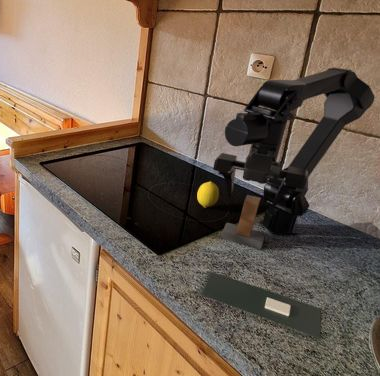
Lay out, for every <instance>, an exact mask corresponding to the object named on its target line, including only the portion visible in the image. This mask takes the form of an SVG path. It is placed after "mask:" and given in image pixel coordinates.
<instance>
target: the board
mask: <svg viewBox="0 0 380 376" xmlns="http://www.w3.org/2000/svg"><path fill="white" fill-rule="evenodd" d="M200 295H201V296H203V297H205V298H208V299H211V300H214V301H216V302H219V303H222V304H224V305H227V306H230V307H233V308H236V309H239V310H241V311H242V312H243V311H244V312H246V313H249V314H251V315H255V316H257V317H260V318H263V319H265V320H268V321H271V322H274V323H276V324H279V325H282V326H284V327H287V328H290V329H293V330H295V331H298V332H300V333H304V334H305V335H309V336H312V337H314V338H317V339H321V321H322V319H321V318H322V308H321V307H317V306H315V305H312V304H309V303H305V302H302V301H299V300H297V299H294V298H292V297H291V298H290V297H288V296H285V295H282V294H279V293H275V292H273V291H271V290H267V289H264V288H261V287H258V286H254V285H252V284H249V283H246V282H244V281H240V280H238V279H234V278H231V277H228V276H225V275H222V274H220V273H217V272H214V271H211V272H210V274H209V276H208V278H207V281H206V283H205V285H204V287H203V290H202V291H201V294H200ZM267 297H268V298H271V299H274V300H277V301H280V302H283V303H285V304H288V305H291V307H290V314H289V316H286V315H283V314H281V313H278V312H275V311H272V310H269V309H267V308H265V305H266V300H267Z"/></svg>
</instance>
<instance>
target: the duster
mask: <svg viewBox="0 0 380 376" xmlns="http://www.w3.org/2000/svg"><path fill="white" fill-rule="evenodd" d="M261 199H262V198H261V197H258V196H255V195H252V194H251V195H250V194H247V195H246V197H245V199H244V202H243V206H242V209H241V212H240V213H241V214H240V217H239V221H238V225H237V224H234V223H231V222H226V223H225V225H224V227H223V229H222V231H221V236H220V238H221V239H224V240H227V241H231V242H234V243H238V244H241V245H245V246H248V247H251V248H255V249H259V250H262V247H263V244H264V240H265V238H266V232H263V231H259V230H256V229H253V228H254V225H255V221H256V217H257V214H258V209H259V206H260V203H261Z"/></svg>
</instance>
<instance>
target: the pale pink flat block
mask: <svg viewBox="0 0 380 376" xmlns="http://www.w3.org/2000/svg"><path fill="white" fill-rule="evenodd" d="M290 307H291V305H288V304H285V303H283V302H280V301H277V300H274V299H271V298H268V297H267V300H266V305H265V308H267V309H269V310H272V311H275V312H278V313H281V314H283V315H286V316H289V314H290Z"/></svg>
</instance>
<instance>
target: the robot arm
mask: <svg viewBox="0 0 380 376" xmlns="http://www.w3.org/2000/svg"><path fill="white" fill-rule="evenodd" d="M321 95H324V96H325V98H326V99H325V101H324V102H323V116H322V118H321V119H320V120H319V122H318V124H317V125H316V126H315V128H314V129H313V131H312V132H311V134H310V135H309V136H308V138H307V139H306V140H305V142H304V143H303V145H302V146H301V147H300V149H299V151H298V152H297V154H296V155H295V156H294V157H293V159H292V161H291V162H290V164H289V165H288V166H287V167H285V168H283V162H279V161H278V157H279V153H280V149H281V147H282V146H281V145H282V143H283V138H284V135H285V132H286V127H287V124H288V121H293V120H295V119H296V118H295V117H296V116H295V115H294V114H293V113H292V112H293V111H295V110H297V109H299V108H300V107H302V105H303V103H304V101H306V100H308V99H312V98H316V97H319V96H321ZM374 102H375V94H374V93H373V90H372V88H371V86H370V85H369V84H368V83H366V82H364V81H363V80H362V79H360V78H359V77H358V76H357V74H356V72H355V71H353V70H352V69H348V68H340V67H330V68H328V69H326V70H325V71H320V72H316V73H314V74H310V75H306V76H304V77H300V78H296V79H268V80H266V81H265V82H262V85H261V86H260V87H259V88H258V90H257V91H256V93H255V94H254V95H253V97H252V98H251V99H250V100H249V102H248V103H247V105H246V106H245V108H244V109H243V112H237V114H236V115H235V118H234V119H231V120H230V121H229V122H228V123H227V125H226V126H225V128H224V137H225V140H226V142H227V143H228V144H229V145H230V146H232V147H242V146H248V145H250V147H249V152H248V154H247V156H246V158H245V161H241V160H237V159H238V155H234V154H230V153H224V152H222V153H220V154H218V156H216V158H215V160H214V162H213V167H212V170H214V171H216V172H217V173H218V175H221V176H222V177H223V178H224V181H225V185H226V190H227V191H226V192H227V198H228V199H229V200H231V199H232V197H233V196H232V195H233V193H234V186H235V177H236V170H239V171H243V173H242V179H243V180H245V181H248V182H249V181H251V182H256V183H258V184H261V185H264V186H263V202H264V203H266V204H268V207H267V209H266V210H265V212H264V215H263V219H262V220H259V224H261V225H262V226H263V227H264V228H265V229H266V230H267V231H268V232H269V233H271V234H272V235H273V236H275V235H276V236H277V235H278V236H279V235H280V236H281V235H297V234H298V231H296V230H295V229H294V228H295V225H296V223H297V219H298V217H303V216H304V214H306V213H307V211H308V209H309V208H310V203H309V201H308V199H307V197H306V194H307V193H308V191H309V177H310V176H311V174H312V173H313V171H314V170H315V169H316V167H317V166H318V164H319V163H320V162H321V160H322V159H323V158H324V156H325V155H326V153H327V152H328V150H329V149H330V147H331V146H332V145H333V143H334V142H335V141H336V139H337V138H338V136H339V135H340V133H341V132H342V130H343V129H344V128H345V127H346V126H347V125H349V124H351V123H353V122H355V121H357V120H358V119H359V120H360V118H361V117H362V116H363V115H364V114H365V113H366V112H367V111H368V109H370V108H371V107H372V105H373V104H374Z"/></svg>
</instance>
